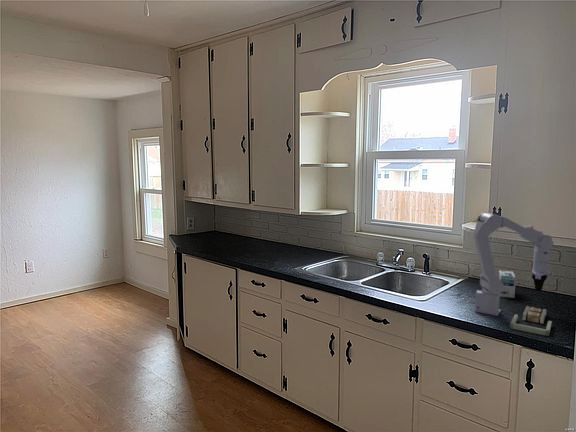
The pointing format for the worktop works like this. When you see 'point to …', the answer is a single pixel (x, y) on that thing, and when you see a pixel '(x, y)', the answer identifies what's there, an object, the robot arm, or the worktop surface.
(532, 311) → the tan square block
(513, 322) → the tray
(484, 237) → the robot arm
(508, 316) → the worktop surface
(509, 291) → the light bulb box
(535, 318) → the tan wooden block
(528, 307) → the slot rails
